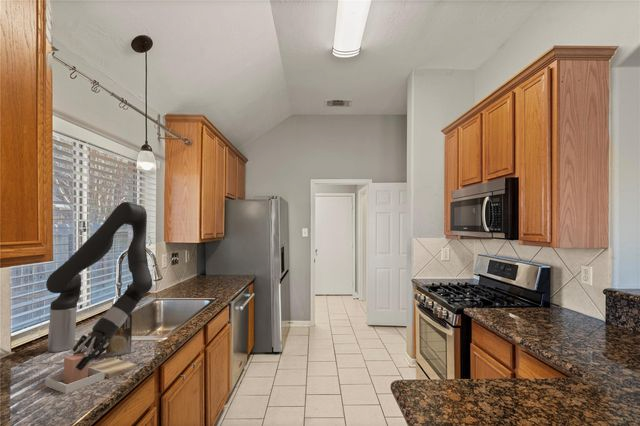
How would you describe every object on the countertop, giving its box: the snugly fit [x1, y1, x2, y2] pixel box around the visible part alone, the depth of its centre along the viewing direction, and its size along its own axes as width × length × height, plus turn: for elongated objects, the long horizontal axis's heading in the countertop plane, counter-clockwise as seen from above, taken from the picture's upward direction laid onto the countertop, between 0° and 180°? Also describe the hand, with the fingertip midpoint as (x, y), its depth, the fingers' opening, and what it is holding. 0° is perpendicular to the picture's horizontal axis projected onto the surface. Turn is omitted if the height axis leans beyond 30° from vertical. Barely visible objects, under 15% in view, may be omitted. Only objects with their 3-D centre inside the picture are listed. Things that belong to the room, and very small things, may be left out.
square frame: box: [44, 367, 106, 394], centre depth 114 cm, size 12×12×2 cm
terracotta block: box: [62, 353, 90, 384], centre depth 115 cm, size 5×5×8 cm
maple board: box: [88, 357, 137, 379], centre depth 125 cm, size 14×10×2 cm
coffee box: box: [105, 312, 133, 358], centre depth 142 cm, size 9×6×16 cm
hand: (73, 367), depth 114 cm, fingers closed on terracotta block, 5 cm apart
